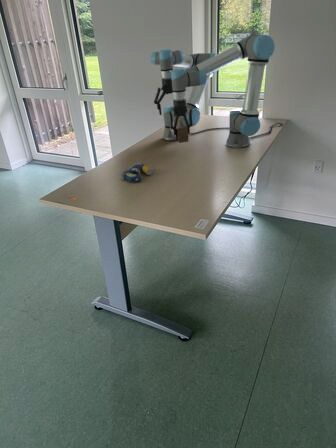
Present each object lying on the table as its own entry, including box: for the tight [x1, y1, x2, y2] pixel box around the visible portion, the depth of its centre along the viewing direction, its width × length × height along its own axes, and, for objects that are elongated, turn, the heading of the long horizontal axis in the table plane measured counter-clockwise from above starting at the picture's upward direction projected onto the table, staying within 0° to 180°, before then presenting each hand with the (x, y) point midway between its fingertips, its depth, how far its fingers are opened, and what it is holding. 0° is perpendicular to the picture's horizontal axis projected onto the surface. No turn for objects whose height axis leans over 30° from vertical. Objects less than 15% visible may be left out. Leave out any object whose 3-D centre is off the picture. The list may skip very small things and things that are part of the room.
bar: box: [170, 116, 189, 144], centre depth 208 cm, size 28×6×9 cm, turn 10°
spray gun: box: [120, 162, 154, 183], centre depth 191 cm, size 21×4×15 cm
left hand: (170, 112), depth 217 cm, fingers open, 13 cm apart
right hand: (182, 139), depth 201 cm, fingers closed on bar, 6 cm apart
